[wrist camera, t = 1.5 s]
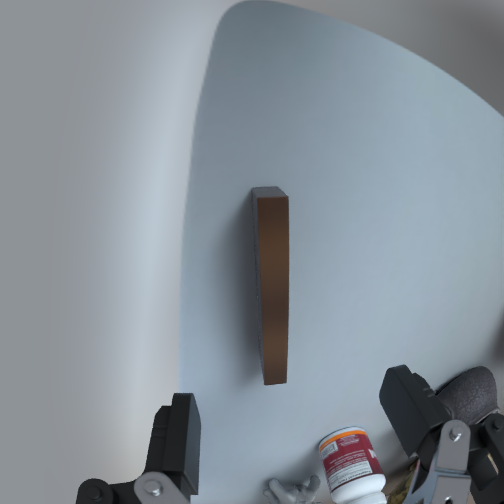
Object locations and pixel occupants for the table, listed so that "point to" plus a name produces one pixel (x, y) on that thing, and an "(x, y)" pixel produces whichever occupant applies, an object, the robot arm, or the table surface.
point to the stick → (272, 280)
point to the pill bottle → (352, 468)
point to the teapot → (471, 396)
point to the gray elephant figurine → (292, 492)
